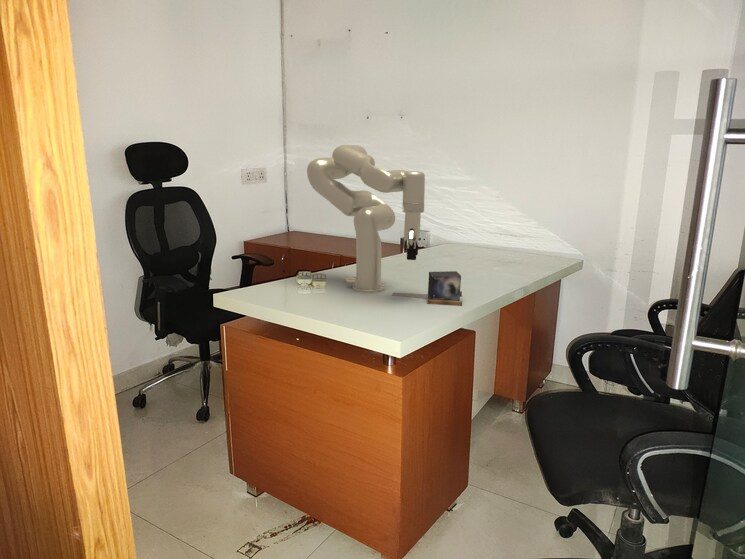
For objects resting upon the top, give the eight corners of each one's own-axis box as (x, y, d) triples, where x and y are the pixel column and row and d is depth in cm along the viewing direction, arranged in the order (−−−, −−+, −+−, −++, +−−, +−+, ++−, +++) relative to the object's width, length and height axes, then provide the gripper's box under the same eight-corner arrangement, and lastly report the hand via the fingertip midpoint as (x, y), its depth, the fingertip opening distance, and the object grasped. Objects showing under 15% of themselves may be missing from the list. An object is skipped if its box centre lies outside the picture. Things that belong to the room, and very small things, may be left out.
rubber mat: (389, 302, 185) (389, 301, 184) (392, 293, 195) (392, 292, 195) (425, 304, 183) (426, 303, 182) (427, 295, 193) (427, 294, 193)
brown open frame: (427, 306, 181) (427, 300, 181) (429, 294, 194) (429, 289, 194) (461, 308, 179) (462, 302, 179) (461, 296, 193) (461, 291, 192)
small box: (431, 304, 183) (432, 275, 180) (426, 299, 189) (428, 271, 186) (460, 303, 184) (461, 275, 182) (455, 298, 191) (456, 270, 188)
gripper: (404, 204, 189) (404, 252, 193) (399, 210, 172) (399, 262, 177) (425, 205, 188) (424, 252, 192) (422, 210, 171) (421, 262, 176)
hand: (412, 257), depth 184 cm, fingers open, 7 cm apart
